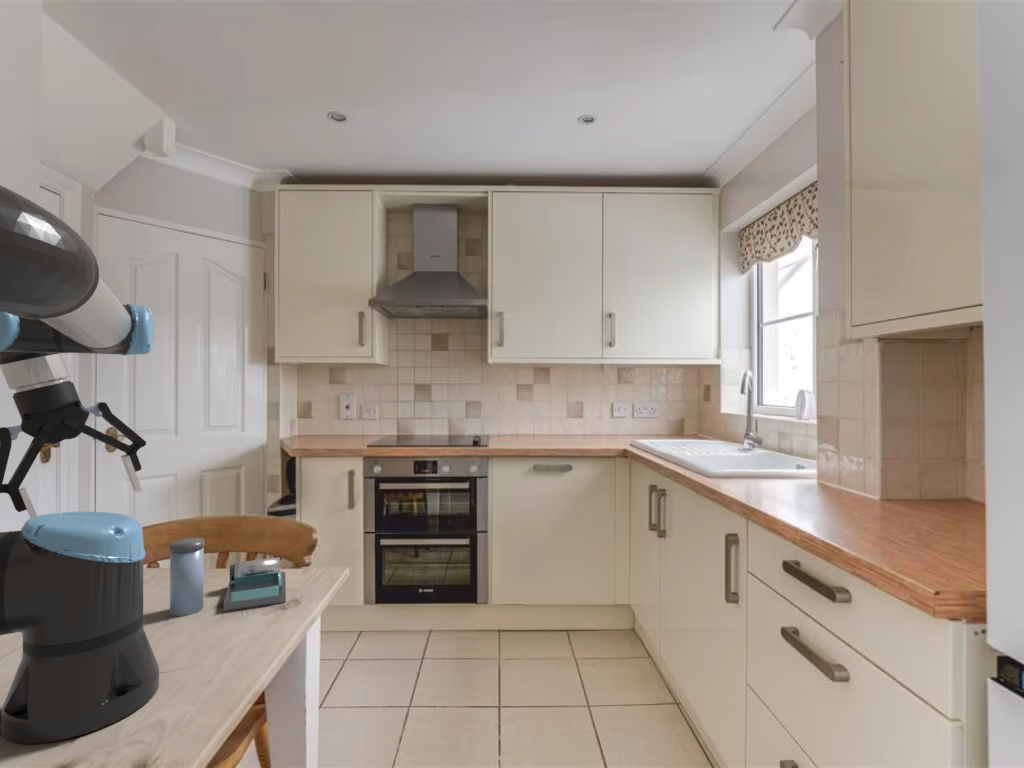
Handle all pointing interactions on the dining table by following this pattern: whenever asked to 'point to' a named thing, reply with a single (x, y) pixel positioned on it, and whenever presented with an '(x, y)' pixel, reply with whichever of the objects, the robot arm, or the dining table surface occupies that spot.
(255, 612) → the dining table surface
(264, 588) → the motor mount
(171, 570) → the ball
